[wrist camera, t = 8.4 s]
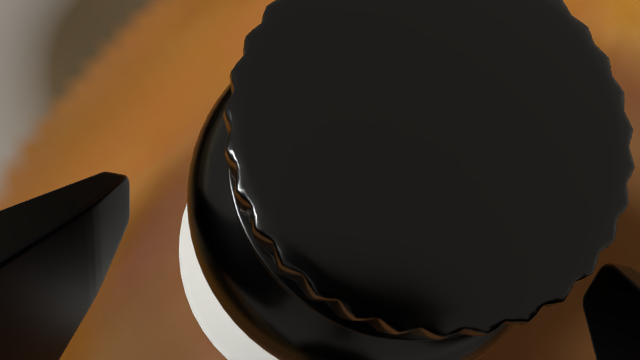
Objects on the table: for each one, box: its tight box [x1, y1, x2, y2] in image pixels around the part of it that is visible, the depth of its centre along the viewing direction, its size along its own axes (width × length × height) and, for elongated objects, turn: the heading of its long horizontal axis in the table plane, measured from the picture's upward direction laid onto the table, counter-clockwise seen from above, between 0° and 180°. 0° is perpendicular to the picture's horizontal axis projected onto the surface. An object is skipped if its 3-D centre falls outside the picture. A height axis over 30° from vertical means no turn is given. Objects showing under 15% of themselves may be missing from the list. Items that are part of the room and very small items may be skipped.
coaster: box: [179, 205, 278, 360], centre depth 18 cm, size 10×10×1 cm
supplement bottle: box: [187, 0, 634, 360], centre depth 11 cm, size 7×7×12 cm
